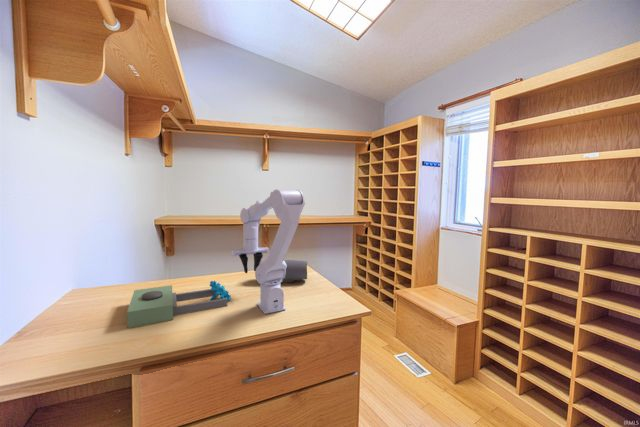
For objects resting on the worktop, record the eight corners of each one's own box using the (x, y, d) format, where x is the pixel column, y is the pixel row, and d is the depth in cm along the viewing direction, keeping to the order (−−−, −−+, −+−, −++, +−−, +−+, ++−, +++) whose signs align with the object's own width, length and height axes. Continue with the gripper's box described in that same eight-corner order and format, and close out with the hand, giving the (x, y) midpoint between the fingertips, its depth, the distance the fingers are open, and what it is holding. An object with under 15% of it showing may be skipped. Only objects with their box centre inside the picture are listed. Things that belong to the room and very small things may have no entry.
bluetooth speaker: (306, 278, 132) (307, 257, 131) (307, 284, 123) (307, 263, 122) (259, 278, 130) (259, 257, 130) (256, 284, 121) (256, 262, 120)
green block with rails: (228, 309, 96) (228, 292, 95) (127, 328, 81) (126, 308, 81) (219, 290, 113) (219, 276, 112) (134, 303, 99) (134, 287, 98)
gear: (228, 301, 98) (208, 282, 98) (216, 313, 98) (196, 294, 97) (234, 294, 109) (217, 276, 109) (224, 305, 109) (206, 287, 108)
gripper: (265, 235, 114) (265, 267, 116) (229, 237, 107) (230, 271, 109) (270, 238, 108) (270, 271, 109) (233, 240, 101) (233, 276, 102)
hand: (250, 271), depth 109 cm, fingers open, 3 cm apart
